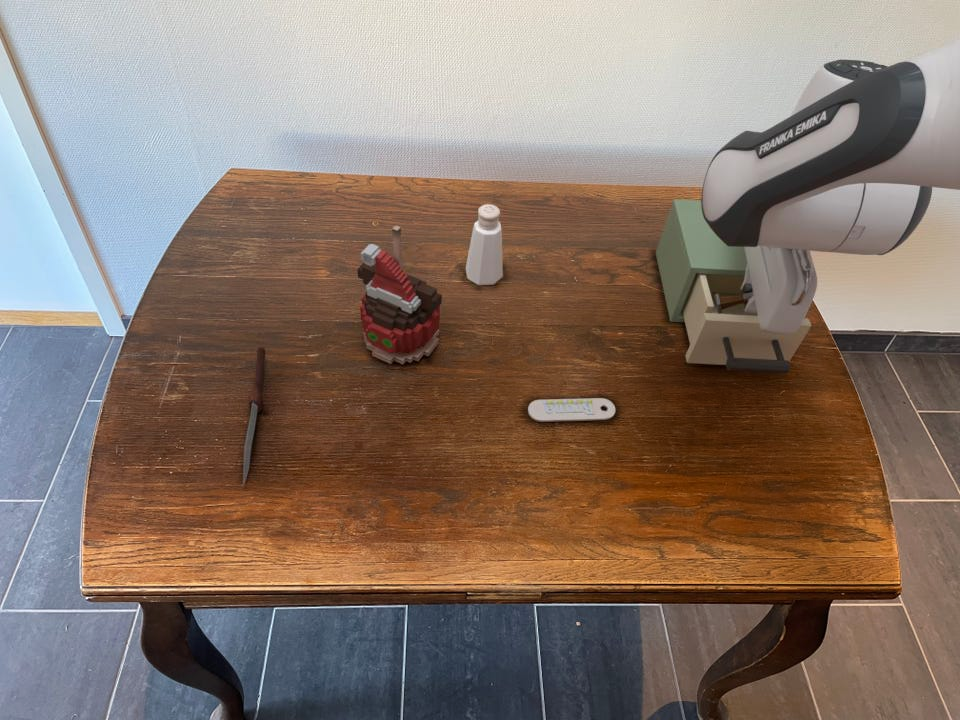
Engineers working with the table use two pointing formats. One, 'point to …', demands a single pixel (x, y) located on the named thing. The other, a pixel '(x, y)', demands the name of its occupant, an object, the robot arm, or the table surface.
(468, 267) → the salt shaker
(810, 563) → the table surface
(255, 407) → the knife
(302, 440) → the table surface
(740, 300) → the wooden post with brackets
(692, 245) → the cabinet
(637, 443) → the table surface
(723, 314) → the drawer
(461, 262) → the table surface
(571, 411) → the keychain
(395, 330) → the christmas cupcake
